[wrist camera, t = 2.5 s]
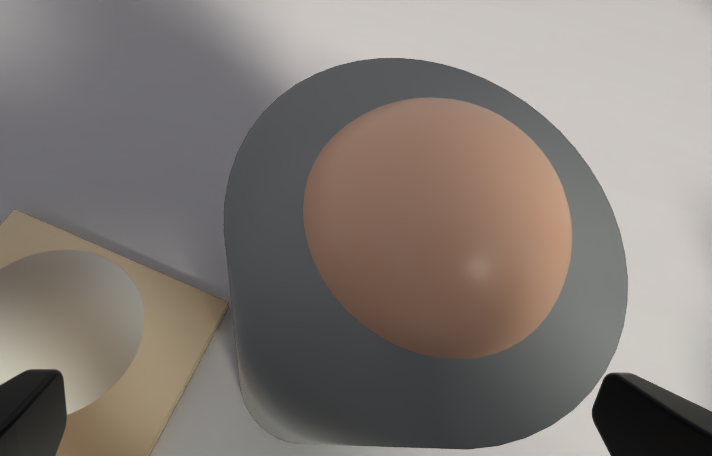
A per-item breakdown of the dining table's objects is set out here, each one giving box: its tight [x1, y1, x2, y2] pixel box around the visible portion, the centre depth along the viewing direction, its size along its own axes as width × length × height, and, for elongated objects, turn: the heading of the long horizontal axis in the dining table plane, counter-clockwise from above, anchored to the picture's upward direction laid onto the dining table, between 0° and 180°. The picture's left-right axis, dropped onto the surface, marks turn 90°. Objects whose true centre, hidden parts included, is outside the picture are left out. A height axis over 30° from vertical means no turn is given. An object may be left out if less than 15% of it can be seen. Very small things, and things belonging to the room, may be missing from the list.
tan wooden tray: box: [0, 209, 229, 456], centre depth 13 cm, size 10×8×2 cm
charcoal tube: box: [224, 58, 628, 449], centre depth 10 cm, size 5×5×14 cm
